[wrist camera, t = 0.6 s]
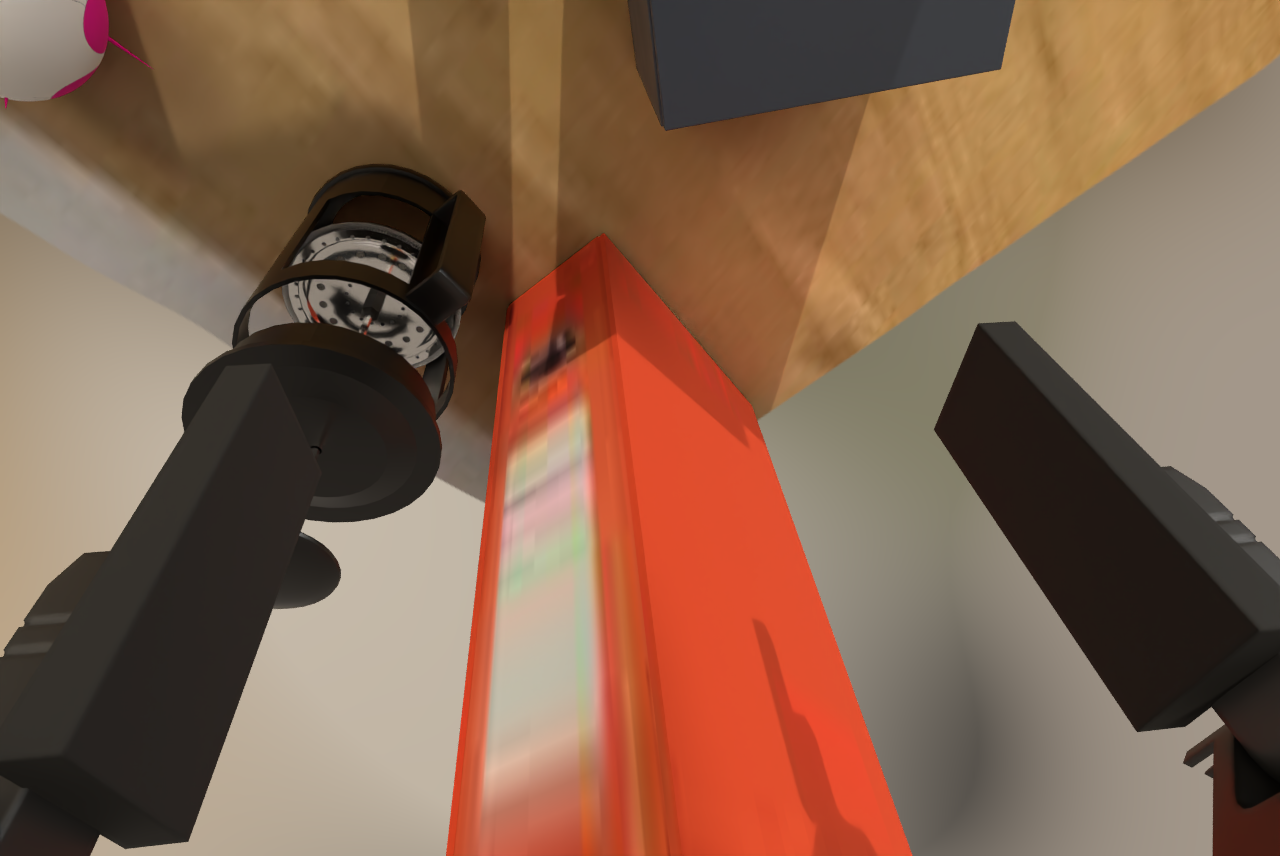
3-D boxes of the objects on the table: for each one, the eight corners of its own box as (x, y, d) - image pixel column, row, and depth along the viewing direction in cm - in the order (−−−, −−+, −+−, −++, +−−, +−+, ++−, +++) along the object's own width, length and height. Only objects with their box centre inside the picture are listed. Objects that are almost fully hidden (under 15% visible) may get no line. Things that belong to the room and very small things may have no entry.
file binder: (662, 457, 50) (765, 997, 26) (503, 309, 40) (434, 961, 16) (750, 403, 47) (955, 950, 24) (603, 230, 38) (697, 872, 14)
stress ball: (108, 77, 33) (137, 169, 31) (-135, -16, 26) (-118, 94, 24) (164, -55, 30) (201, 39, 27) (-97, -200, 23) (-74, -91, 21)
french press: (394, 349, 41) (284, 694, 24) (262, 238, 36) (-5, 583, 19) (536, 245, 38) (526, 562, 20) (413, 104, 32) (258, 376, 15)
